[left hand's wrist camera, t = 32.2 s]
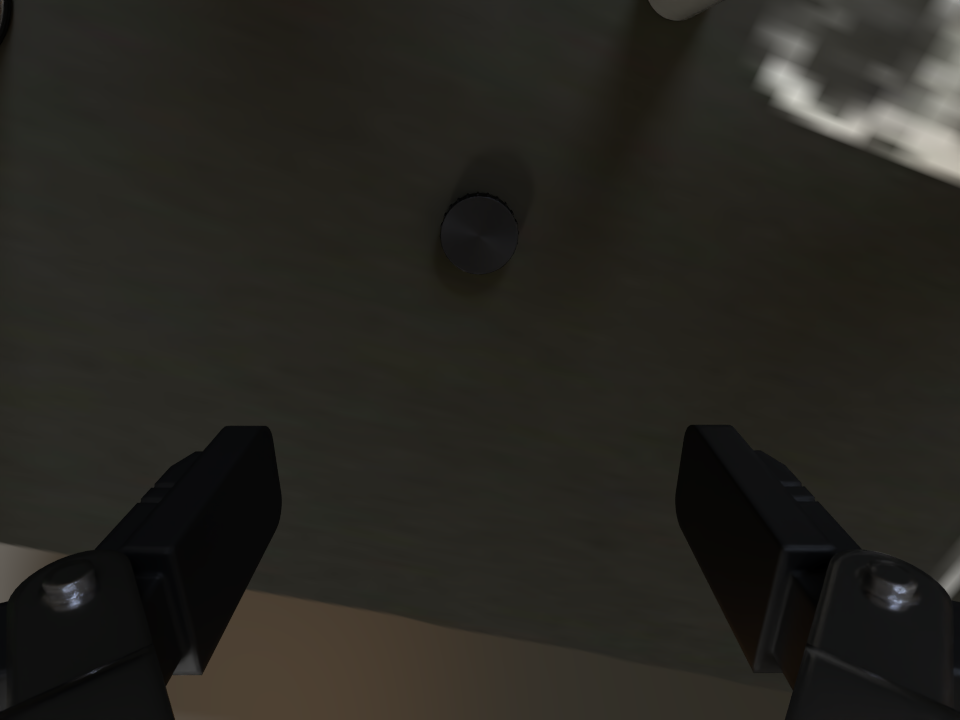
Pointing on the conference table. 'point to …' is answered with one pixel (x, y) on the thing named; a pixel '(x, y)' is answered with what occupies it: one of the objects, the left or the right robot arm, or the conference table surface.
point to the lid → (479, 233)
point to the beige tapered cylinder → (681, 8)
